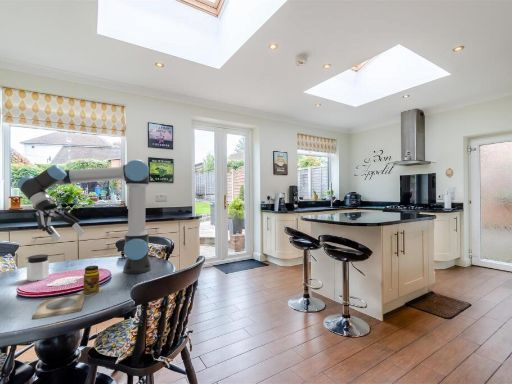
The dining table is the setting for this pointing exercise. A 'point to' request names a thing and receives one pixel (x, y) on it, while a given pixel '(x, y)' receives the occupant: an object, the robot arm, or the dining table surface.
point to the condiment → (91, 281)
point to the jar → (37, 267)
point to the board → (59, 306)
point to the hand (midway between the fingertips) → (70, 236)
